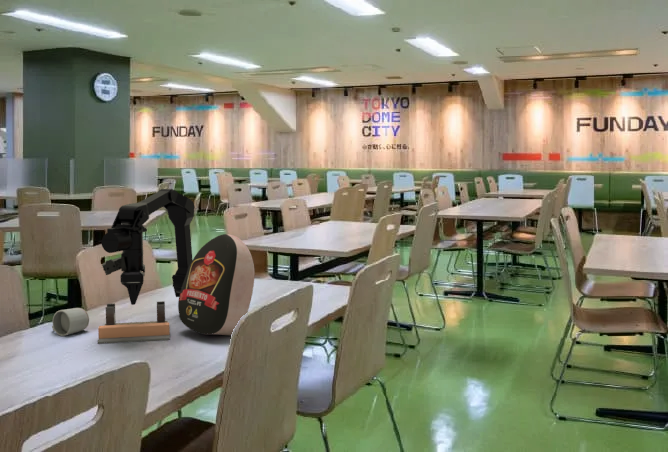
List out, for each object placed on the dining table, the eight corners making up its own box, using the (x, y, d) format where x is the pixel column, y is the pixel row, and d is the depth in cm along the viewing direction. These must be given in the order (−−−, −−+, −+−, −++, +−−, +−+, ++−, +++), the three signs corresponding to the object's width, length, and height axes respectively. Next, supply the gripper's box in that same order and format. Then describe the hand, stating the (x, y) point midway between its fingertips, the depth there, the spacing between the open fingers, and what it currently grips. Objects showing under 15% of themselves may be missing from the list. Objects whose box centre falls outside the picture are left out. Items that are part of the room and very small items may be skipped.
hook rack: (167, 323, 219) (167, 300, 219) (167, 329, 213) (167, 305, 212) (105, 326, 215) (104, 303, 214) (103, 332, 208) (102, 308, 207)
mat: (169, 331, 210) (169, 329, 210) (169, 339, 201) (169, 337, 201) (100, 334, 206) (100, 332, 205) (97, 343, 196) (97, 341, 196)
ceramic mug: (91, 331, 210) (90, 306, 209) (70, 337, 202) (69, 311, 202) (66, 327, 214) (65, 303, 214) (44, 333, 207) (43, 308, 206)
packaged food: (168, 332, 209) (166, 234, 205) (219, 321, 223) (218, 229, 220) (214, 346, 194) (213, 241, 191) (265, 333, 209) (265, 235, 206)
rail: (169, 332, 207) (169, 322, 207) (169, 334, 204) (169, 324, 204) (99, 335, 202) (99, 325, 202) (98, 338, 199) (98, 328, 199)
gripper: (106, 244, 207) (107, 295, 209) (100, 253, 189) (102, 309, 191) (144, 244, 210) (145, 294, 212) (142, 252, 192) (143, 307, 194)
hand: (133, 301), depth 202 cm, fingers open, 9 cm apart
